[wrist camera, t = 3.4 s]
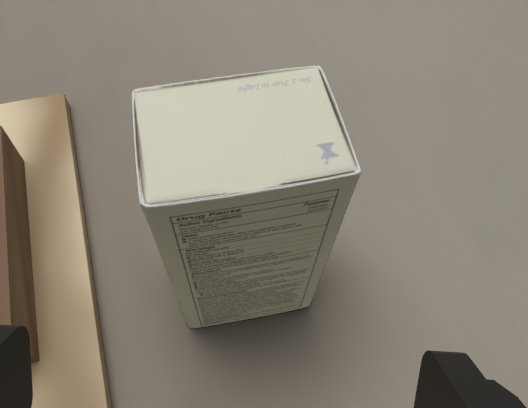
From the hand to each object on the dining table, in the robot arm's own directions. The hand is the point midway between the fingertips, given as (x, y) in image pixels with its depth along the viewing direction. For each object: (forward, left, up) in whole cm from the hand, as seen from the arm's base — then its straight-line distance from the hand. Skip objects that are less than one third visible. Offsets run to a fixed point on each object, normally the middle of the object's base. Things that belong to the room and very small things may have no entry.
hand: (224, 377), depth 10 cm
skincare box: (-2, -7, -13) cm, 15 cm away
